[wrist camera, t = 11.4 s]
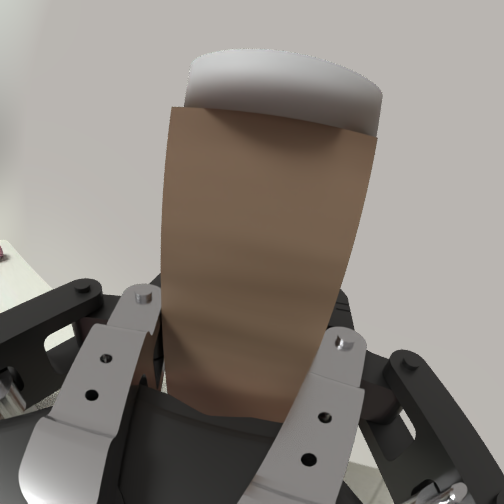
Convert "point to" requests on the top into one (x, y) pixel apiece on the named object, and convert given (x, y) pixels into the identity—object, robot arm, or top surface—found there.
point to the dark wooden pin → (259, 223)
